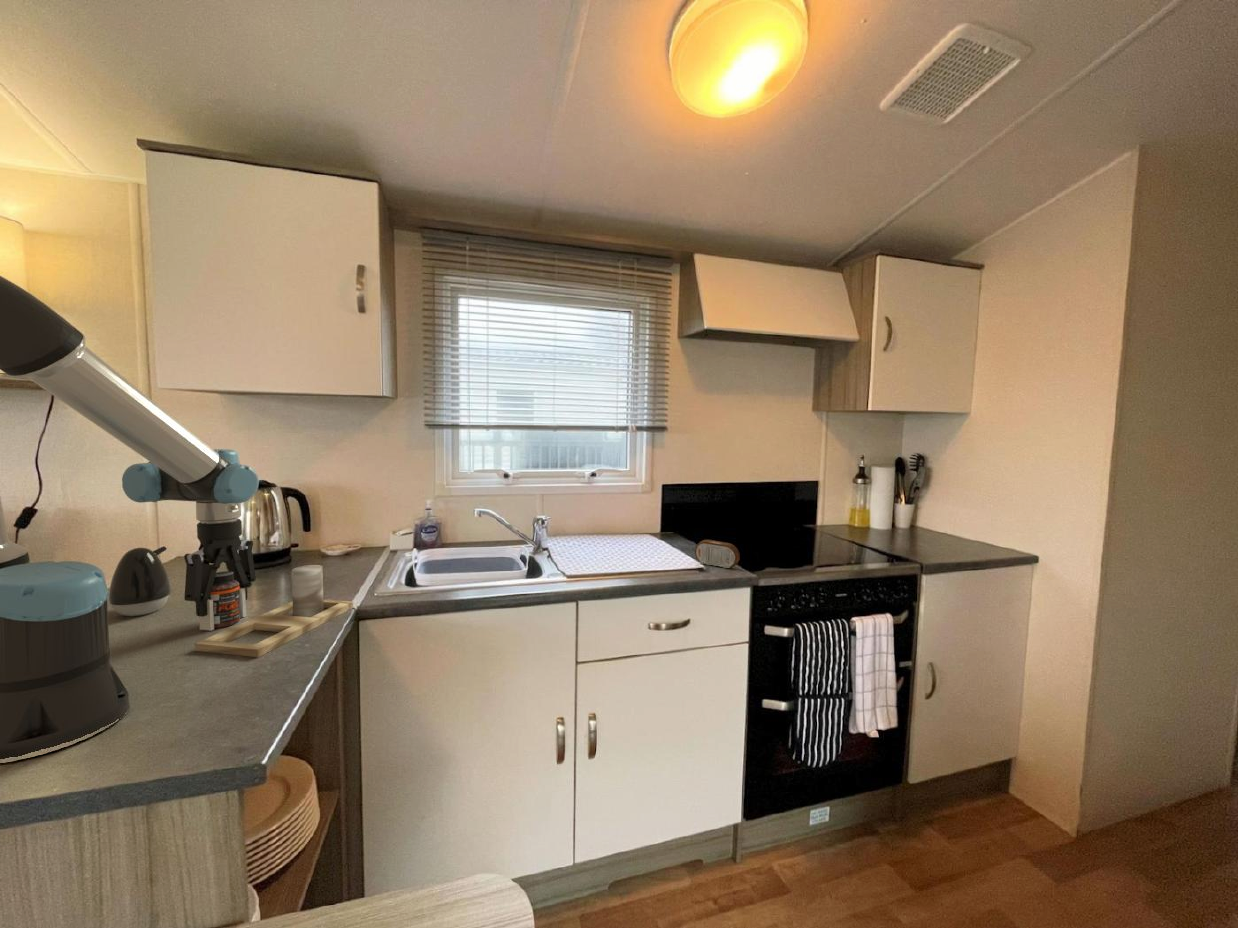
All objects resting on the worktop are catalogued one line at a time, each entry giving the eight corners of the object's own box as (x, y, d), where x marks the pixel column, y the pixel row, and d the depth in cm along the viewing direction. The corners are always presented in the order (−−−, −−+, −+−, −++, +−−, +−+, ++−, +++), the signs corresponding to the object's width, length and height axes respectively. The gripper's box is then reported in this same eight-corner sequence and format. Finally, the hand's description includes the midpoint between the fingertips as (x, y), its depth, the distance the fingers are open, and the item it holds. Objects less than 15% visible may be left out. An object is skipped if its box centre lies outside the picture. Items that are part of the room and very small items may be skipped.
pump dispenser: (183, 606, 115) (180, 544, 114) (129, 623, 105) (125, 555, 104) (153, 601, 118) (150, 540, 117) (98, 617, 108) (94, 551, 107)
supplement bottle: (220, 630, 102) (218, 578, 102) (198, 627, 104) (196, 576, 103) (247, 619, 108) (245, 570, 107) (226, 617, 109) (224, 568, 109)
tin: (739, 569, 157) (740, 543, 157) (736, 571, 154) (737, 545, 154) (696, 561, 165) (697, 537, 165) (693, 563, 162) (694, 539, 162)
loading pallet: (258, 657, 91) (256, 600, 90) (195, 650, 93) (192, 595, 92) (353, 607, 117) (352, 563, 116) (302, 603, 119) (301, 559, 118)
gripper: (187, 530, 94) (192, 643, 96) (273, 513, 113) (276, 607, 115) (155, 528, 95) (160, 640, 97) (245, 511, 115) (249, 605, 116)
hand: (223, 622), depth 106 cm, fingers open, 7 cm apart
